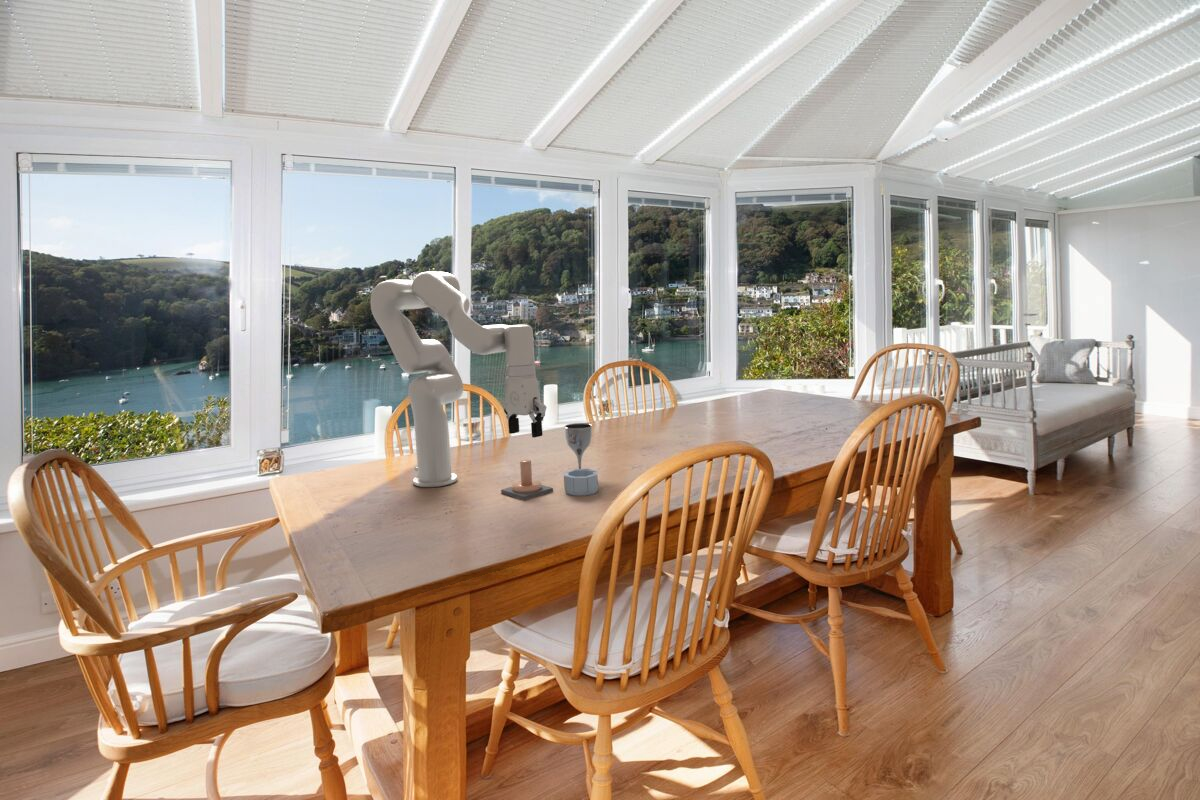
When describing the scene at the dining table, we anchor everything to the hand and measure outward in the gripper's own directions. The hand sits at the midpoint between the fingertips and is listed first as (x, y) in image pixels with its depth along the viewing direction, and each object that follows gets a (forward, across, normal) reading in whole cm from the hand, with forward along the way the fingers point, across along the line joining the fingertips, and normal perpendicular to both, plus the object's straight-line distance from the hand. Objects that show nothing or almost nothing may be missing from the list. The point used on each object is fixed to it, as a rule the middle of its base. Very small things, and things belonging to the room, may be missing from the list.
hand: (525, 434), depth 183 cm
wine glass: (+16, -2, +21) cm, 27 cm away
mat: (+16, -1, 0) cm, 16 cm away
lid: (+15, -1, 0) cm, 15 cm away
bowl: (+16, +10, +10) cm, 22 cm away
